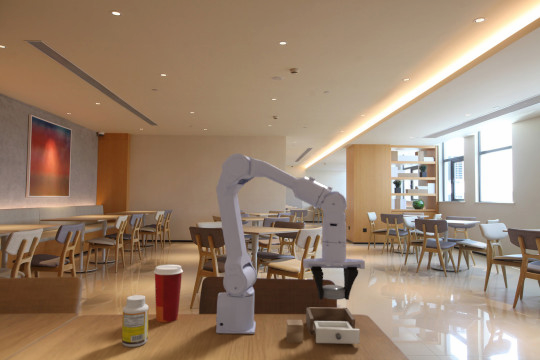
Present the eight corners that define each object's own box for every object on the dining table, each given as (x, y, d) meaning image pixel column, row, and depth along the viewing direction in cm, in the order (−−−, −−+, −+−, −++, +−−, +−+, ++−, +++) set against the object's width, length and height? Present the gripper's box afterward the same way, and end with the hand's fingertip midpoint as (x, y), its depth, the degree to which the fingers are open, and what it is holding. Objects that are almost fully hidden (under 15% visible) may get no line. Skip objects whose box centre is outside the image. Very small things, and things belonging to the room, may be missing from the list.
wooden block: (287, 342, 87) (287, 324, 87) (286, 336, 90) (286, 319, 90) (302, 342, 87) (303, 325, 87) (301, 336, 90) (301, 319, 90)
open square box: (310, 335, 91) (310, 318, 91) (306, 322, 100) (306, 307, 101) (354, 335, 91) (355, 319, 92) (346, 322, 101) (346, 307, 101)
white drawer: (316, 344, 84) (317, 330, 84) (311, 328, 94) (311, 316, 94) (360, 344, 84) (360, 331, 84) (350, 328, 94) (350, 316, 94)
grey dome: (319, 293, 92) (319, 284, 92) (341, 292, 93) (341, 284, 93) (324, 299, 87) (324, 290, 87) (348, 299, 87) (348, 290, 87)
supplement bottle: (133, 336, 88) (135, 292, 89) (152, 340, 86) (154, 295, 86) (115, 345, 83) (117, 298, 83) (135, 349, 81) (137, 302, 81)
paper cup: (185, 315, 104) (186, 264, 104) (175, 324, 96) (177, 270, 97) (158, 313, 105) (159, 263, 105) (146, 323, 97) (148, 269, 98)
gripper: (306, 243, 86) (305, 303, 85) (368, 244, 86) (368, 303, 86) (302, 239, 93) (301, 294, 92) (360, 240, 93) (359, 295, 93)
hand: (333, 298), depth 90 cm, fingers closed on grey dome, 6 cm apart
